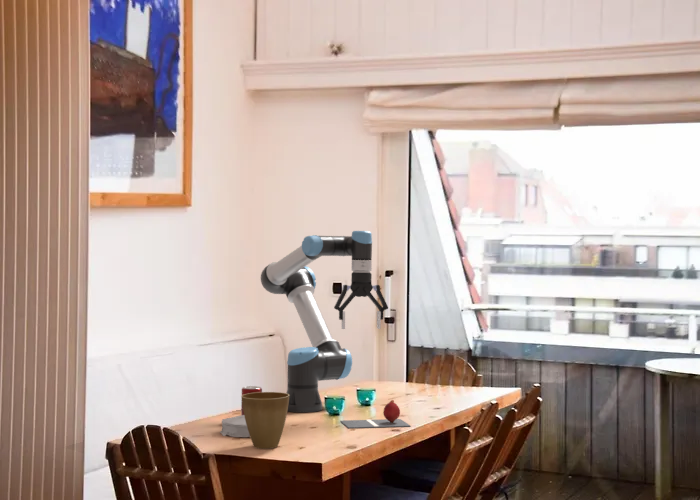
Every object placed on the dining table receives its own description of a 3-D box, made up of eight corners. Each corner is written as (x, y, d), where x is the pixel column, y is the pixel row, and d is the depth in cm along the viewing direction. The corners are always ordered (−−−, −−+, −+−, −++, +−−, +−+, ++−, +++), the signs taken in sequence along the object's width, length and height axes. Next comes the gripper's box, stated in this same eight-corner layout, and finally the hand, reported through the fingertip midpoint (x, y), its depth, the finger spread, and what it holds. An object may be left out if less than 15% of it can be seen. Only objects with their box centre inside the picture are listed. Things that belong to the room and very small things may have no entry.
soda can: (237, 422, 354) (238, 388, 354) (246, 419, 360) (247, 385, 361) (256, 423, 351) (256, 389, 351) (265, 420, 358) (265, 386, 358)
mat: (348, 428, 343) (348, 427, 343) (340, 421, 356) (340, 420, 356) (410, 426, 347) (410, 425, 347) (400, 420, 361) (400, 418, 361)
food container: (213, 430, 340) (212, 410, 339) (269, 426, 346) (269, 407, 346) (226, 442, 321) (226, 420, 321) (286, 437, 328) (286, 416, 327)
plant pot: (268, 440, 320) (269, 390, 320) (298, 447, 309) (299, 395, 309) (231, 446, 310) (231, 394, 310) (260, 453, 299) (261, 399, 299)
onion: (387, 424, 349) (387, 401, 349) (380, 421, 355) (380, 399, 355) (402, 423, 351) (402, 400, 351) (395, 420, 357) (395, 398, 357)
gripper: (330, 272, 369) (330, 329, 369) (396, 272, 374) (395, 329, 374) (326, 271, 376) (326, 328, 376) (391, 271, 382) (390, 327, 382)
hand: (361, 328), depth 375 cm, fingers open, 13 cm apart
